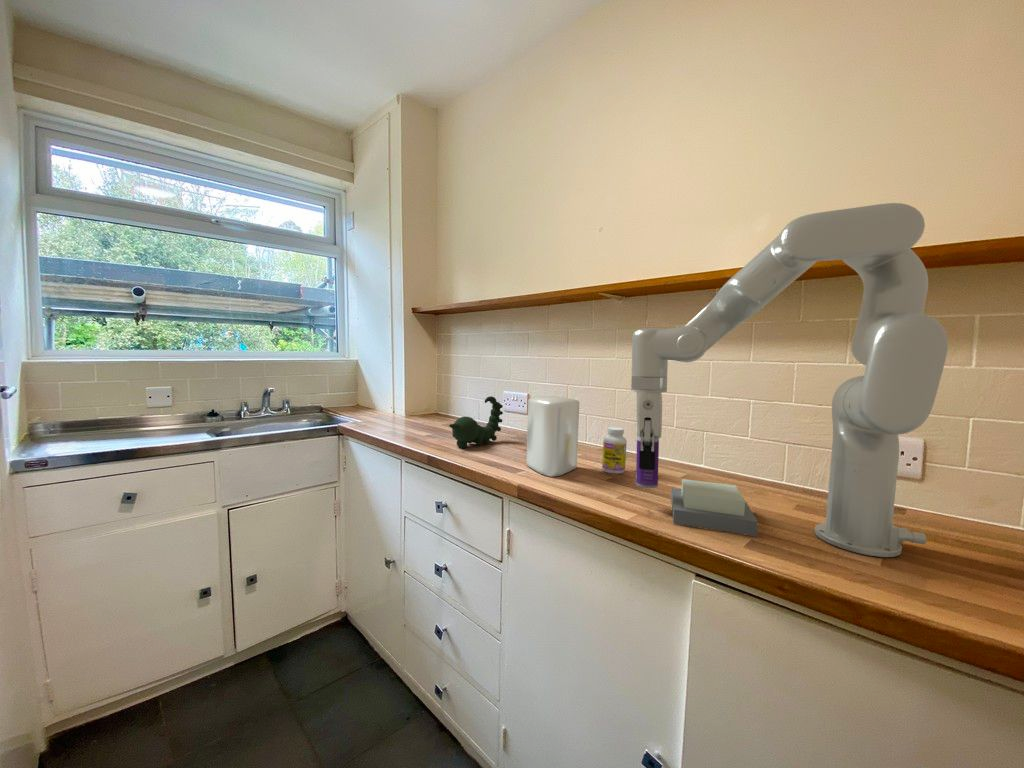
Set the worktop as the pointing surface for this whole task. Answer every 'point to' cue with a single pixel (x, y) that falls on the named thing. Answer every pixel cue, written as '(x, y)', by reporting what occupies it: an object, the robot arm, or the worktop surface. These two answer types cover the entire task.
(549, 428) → the white rounded canister
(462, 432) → the toy figurine
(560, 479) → the worktop surface
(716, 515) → the tower base
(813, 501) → the worktop surface
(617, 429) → the supplement bottle
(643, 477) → the container
